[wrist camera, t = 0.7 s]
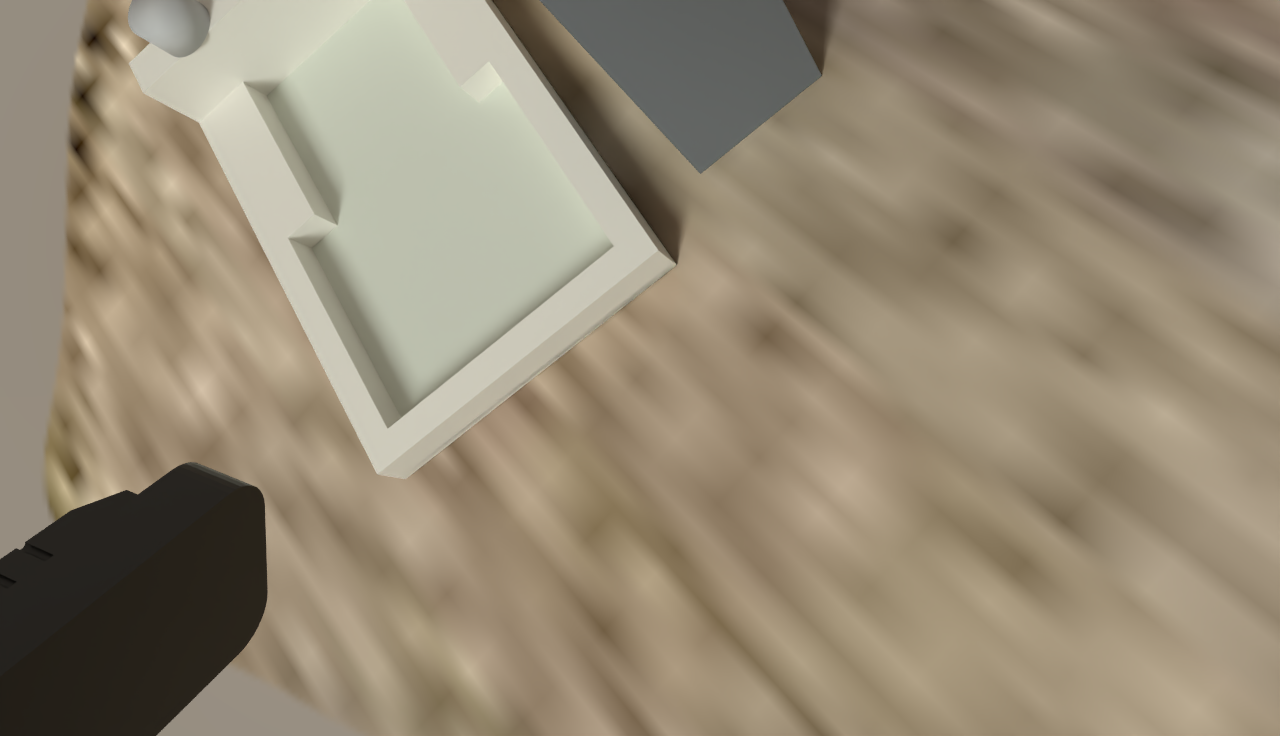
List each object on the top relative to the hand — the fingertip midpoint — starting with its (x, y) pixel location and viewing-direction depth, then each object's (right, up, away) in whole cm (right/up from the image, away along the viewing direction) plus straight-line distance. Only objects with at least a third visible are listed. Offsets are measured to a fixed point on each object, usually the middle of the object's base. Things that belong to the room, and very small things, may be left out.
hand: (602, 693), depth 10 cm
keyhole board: (-7, +10, +26) cm, 29 cm away
